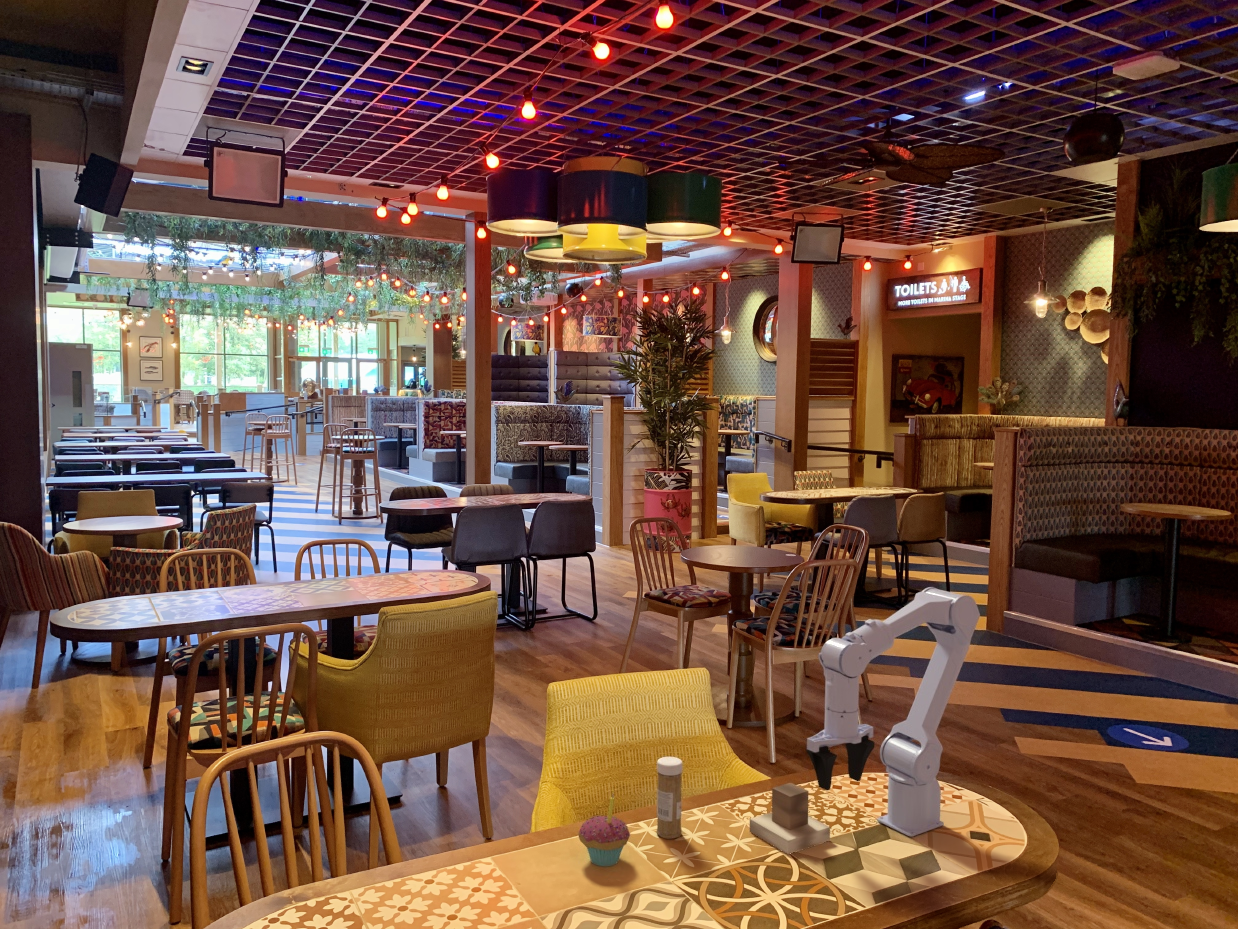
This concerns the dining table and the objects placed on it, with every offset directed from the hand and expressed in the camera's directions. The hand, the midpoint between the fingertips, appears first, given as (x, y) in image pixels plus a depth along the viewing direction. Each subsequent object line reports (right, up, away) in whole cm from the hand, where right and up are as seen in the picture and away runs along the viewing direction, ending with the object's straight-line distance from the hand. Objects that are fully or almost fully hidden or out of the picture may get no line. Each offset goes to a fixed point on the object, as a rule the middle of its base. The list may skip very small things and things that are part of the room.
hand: (839, 783), depth 160 cm
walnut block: (-8, -8, +2) cm, 12 cm away
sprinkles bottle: (-30, -10, +3) cm, 32 cm away
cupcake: (-42, -11, -7) cm, 43 cm away
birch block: (-8, -11, +2) cm, 14 cm away
